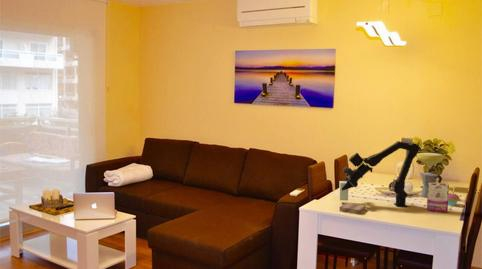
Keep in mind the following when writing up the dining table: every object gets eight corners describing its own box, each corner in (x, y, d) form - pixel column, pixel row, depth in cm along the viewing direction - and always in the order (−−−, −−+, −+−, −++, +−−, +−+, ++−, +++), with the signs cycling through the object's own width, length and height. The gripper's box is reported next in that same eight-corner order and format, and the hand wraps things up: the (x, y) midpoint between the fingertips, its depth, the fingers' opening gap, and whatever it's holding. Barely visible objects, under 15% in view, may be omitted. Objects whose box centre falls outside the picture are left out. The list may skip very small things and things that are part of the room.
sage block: (339, 198, 278) (339, 181, 277) (347, 198, 278) (347, 181, 276) (339, 200, 273) (340, 182, 272) (348, 200, 273) (348, 183, 271)
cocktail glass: (447, 188, 317) (449, 154, 314) (432, 191, 306) (434, 156, 304) (424, 184, 331) (426, 150, 329) (409, 187, 321) (411, 152, 319)
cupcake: (462, 206, 270) (463, 187, 269) (449, 206, 269) (450, 187, 267) (453, 202, 278) (454, 183, 277) (440, 203, 277) (441, 184, 276)
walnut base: (339, 211, 258) (339, 207, 257) (345, 206, 268) (345, 202, 268) (359, 214, 252) (360, 210, 251) (365, 209, 262) (365, 205, 261)
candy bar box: (447, 210, 261) (448, 183, 259) (447, 212, 256) (449, 184, 254) (426, 208, 265) (427, 181, 263) (426, 210, 260) (428, 183, 258)
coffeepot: (415, 195, 296) (416, 168, 294) (423, 193, 302) (425, 167, 300) (436, 200, 284) (437, 172, 282) (444, 198, 289) (446, 171, 287)
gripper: (349, 160, 282) (331, 176, 284) (352, 165, 263) (333, 182, 266) (361, 172, 281) (343, 189, 284) (366, 178, 263) (346, 196, 266)
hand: (341, 188), depth 275 cm, fingers closed on sage block, 5 cm apart
